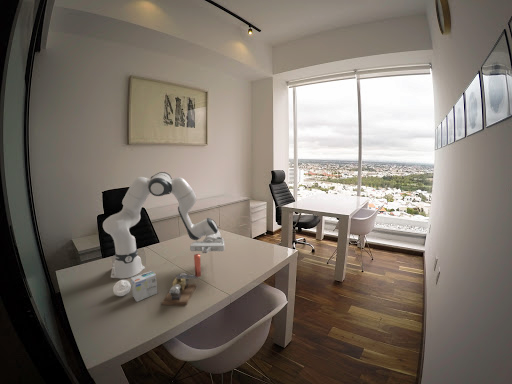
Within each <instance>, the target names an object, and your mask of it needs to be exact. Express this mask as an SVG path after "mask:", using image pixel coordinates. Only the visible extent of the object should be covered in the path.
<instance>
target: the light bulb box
mask: <svg viewBox="0 0 512 384" xmlns="http://www.w3.org/2000/svg"><path fill="white" fill-rule="evenodd" d="M130 284H131V291H132V297H134V298H133V299H134V300H135V302H136V303H138V302H140V301H142V300H145V299H147V298H150V297H152V296H154V295H157V294H158V283H157V275H156V273H155V272H154V271H152V270H150V271H147V272H144V273H141V274H137V275H135V276H132V277H130Z"/></svg>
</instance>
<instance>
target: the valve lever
mask: <svg viewBox="0 0 512 384" xmlns="http://www.w3.org/2000/svg"><path fill="white" fill-rule="evenodd" d="M193 262H194V274H187V275H181V274H182V273H178V274H176V275H175V278H176V280H181V279H182V278H188V279H199V278H200V277H202V267H201V265H202V263H201V254H200V253H195V254H193Z"/></svg>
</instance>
